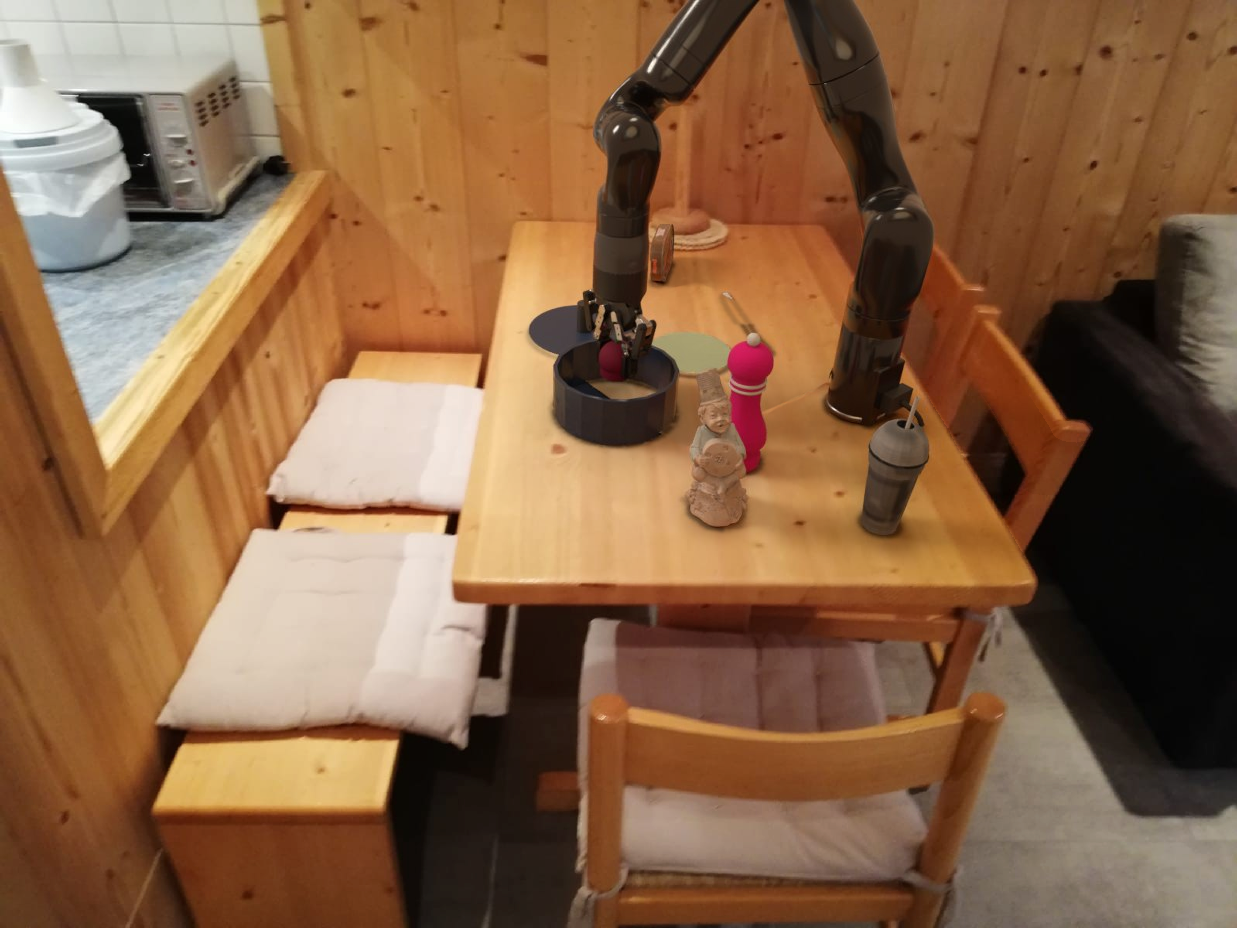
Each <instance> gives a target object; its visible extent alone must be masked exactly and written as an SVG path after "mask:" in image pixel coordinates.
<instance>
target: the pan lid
mask: <svg viewBox="0 0 1237 928" xmlns="http://www.w3.org/2000/svg"><path fill="white" fill-rule="evenodd" d="M596 319H597V318H596V313H595V314H593V321H596ZM631 332H632V329H631V330H629V331H626V332H624V335H626V334H629V333H631ZM528 335H529V338H530V339H531V341H532V342H533V343H534V344H535V345H537V346H538V347H539V348H541V349H543V350H544V351H546V352H549V353H552V354H555V355H557V356H558V355H559V354H561V353H562V352H563V351H565V350H566V349H568V348H569V347H571V346H573V345H576V344H579V343H582V342H585V341H588V340H596V339H595V337H594V332H593V331H588V329H587V327H586V318H585V309H584V301H583V299H579V300H578V301H577V302H576V304H571V305H564V306H558V307H555V308H554V307H553V308H551V309H549V310H546V311H543V312H542V313H540V314H538V315H537V316H535V317H534V318H533V319H532V320H531V322H530V323H529V327H528ZM610 337H611V338H615V330H614V329H613V332H612V334H611V335H610Z"/></svg>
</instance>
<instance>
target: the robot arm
mask: <svg viewBox="0 0 1237 928" xmlns="http://www.w3.org/2000/svg"><path fill="white" fill-rule="evenodd" d="M760 1H761V0H687V1H686V2H685V3H684V4H683V5H682V7H681V8H680V9H679V10H678V11H677V13H676V14H675V15H674V17H673V18H672V19H671V21H670V22H669V23H668V24H667V26H666V27H665V29H664V30H663V31H662V33H661V34H660V36H659V37H658V39H657V40H656V41H655V43H654V44H653V46H652V47H651V49H650V50H649V53H647V55H646V57H645V58H644V60H643V62H642V63H641V64H640V66H639V67H638V68H636V69H635V70H634V71H633V72H632V73H631V74H630V75H629V76H627V77H626V78H625V80H623V82H622V83H621V84H619V85H618V86H617V88H616V89H615V90H614V91H613V92H612V93H611V94H610V95H609V96H608V97H607V98H606V100H605V101H604V102H603V104H602V105H601V107H600V109H599V110H598V112H597V114H596V117H595V118H594V121H593V126H592V127H593V128H592V137H593V140H594V144H595V145H596V147H597V148H598V149H599V151H600V152H601V153H602V154H603V155H604V156H605V157H606V161H607V162H606V177H605V182H604V183H603V184H601V186H600V187H599V189H598V191H597V196H596V209H595V211H596V212H595V214H596V215H595V233H594V240H593V248H592V249H593V252H592V288H590V289H587V290H583V292H582V300H583V301H584V309H585V318H586V327H587V329H588V331H593V332H594V337H595V339H596V355H597V361H598V362H599V353H600V350H601V349H602V347H603V346H604V345H605V344H606V343H608V342H610V341H612V338H611V337H610V335H611V334H612V332H613V329H614V330H615V332H616V337H617V341H618V342H620V343H621V347H622V352H623V356H622V371H621V377H622V378H623V379H625V381H627V380H630V378H633V377H635V375H636V374H637V369H638V367H637V366H638V358H641V357H643V356H646V355H649V353H650V350H651V346H652V342H653V340H654V339H655V334H656V331H657V325H658V324H657V321H656V320H655V319H650V320H648V319H647V318H646V317H645V316H644V313H643V308H642V300H643V299H644V297H645V296H646V294H647V291H648V276H649V263H650V262H649V261H650V233H649V232H650V216H651V215H650V213H651V198H652V195H653V191H654V189H655V186H656V181H657V177H658V173H659V169H660V164H661V159H662V150H663V149H662V148H663V147H662V136H661V132H660V128H659V126H658V125H657V123H656V121H657V120H658V119H659V118H660V117H661V115H662V114H664V112H665V111H667V109H668V108H671V107H680V106H682V105H684V103H686V102H687V101H688V100H689V98H690V97H691V96H692V95H693V94H694V92H695V89H696V88H697V87H698V86H699V85H700V83H701V82H702V80H703V79H704V78H705V76H706V75H707V74H708V72H709V71H710V69H711V68H712V67H713V66H714V64H715V62H716V61H717V59H718V58H719V57H720V55H721V54H722V52H724V49H725V48H726V46H727V45H728V44H729V43H730V41H731V39H732V38H733V37H734V35H735V34H736V33H737V31H738V30H739V29H740V27H741V26H742V24H743V23H744V22H745V20H746V19H747V17H748V16H749V15H750V13H751V12H752V11H753V10H754V9H755V7H756V6H757V5H758V3H759V2H760ZM782 3H783V6H784V9H785V12H786V16H787V20H788V24H789V27H790V28H789V29H790V32H791V34H792V38H793V41H794V44H795V47H796V51H797V54H798V57H799V60H800V63H801V66H802V69H803V73H804V76H805V80H806V82H807V86H808V88H809V91H810V93H811V97H812V100H813V103H814V106H815V108H816V111H817V113H818V115H819V118H820V121H821V123H822V124H823V127H824V129H825V131H826V133H827V135H828V137H829V140H831V142H832V144H833V146H834V148H835V150H836V151H837V153H838V154H839V157H840V158H841V160H842V162H843V164H844V166H845V168H846V171H847V175H848V178H849V181H850V185H851V188H852V193H853V197H854V200H855V201H854V202H855V206H856V211H857V216H858V225H859V231H860V237H861V246H860V250H859V256H858V261H857V266H856V269H855V273H854V274H855V275H854V279H853V281H852V282H851V283H850V285H849V287H848V291H847V297H846V302H845V306H844V312H843V316H842V322H841V326H840V331H839V337H838V341H837V346H836V349H835V350H836V351H835V355H834V360H833V365H832V367H831V370H830V372H829V376H828V379H829V386H828V391H827V394H826V397H825V406H826V409H827V410H828V411H829V412H830V413H831V414H833V415H834V416H835V417H837V418H839V419H842V420H844V421H847V422H851V423H856V424H862V425H863V426H865V427H869V426H871V425H873V424H875V423H877V422H879V421H881V420H883V419H885V418H887V417H889V416H890V415H892V414H893V413H895V412H897V411H900V410H901V409H903V408H904V409H905V410H907V411H908V412H909V413H910V412H911V409H912V406H913V405H911V404H910V403H911V400H912V396H913V392H914V387H911V386H910V385H908V384H906V383H904V382H901V380H902V376H903V372H904V368H905V364H906V359H905V358H902V357H901V356H902V352H903V348H904V343H905V340H906V336H907V332H908V328H909V324H910V320H911V318H912V317H911V316H912V313H913V309H914V305H915V302H916V301H917V299H918V298H919V296H920V295H921V291H922V289H923V286H924V285H923V284H924V281H925V278H926V275H927V272H928V271H927V270H928V267H929V264H930V260H931V256H932V252H933V247H934V243H935V236H936V235H935V232H936V230H935V224H934V222H933V219H932V216H931V214H930V211H929V209H928V206H927V205H926V203H925V201H924V199H923V198H922V196H921V194H920V192H919V189H918V187H917V186H916V183H915V181H914V179H913V177H912V175H911V172H910V169H909V168H908V165H907V162H906V160H905V157H904V154H903V152H902V149H901V144H900V141H899V140H900V139H899V135H898V127H897V119H896V111H895V106H894V99H893V94H892V89H891V86H890V82H889V78H888V74H887V71H886V67H885V64H884V61H883V58H882V57H883V56H882V54H881V51H880V48H879V45H878V42H877V40H876V37H875V35H874V33H873V30H872V28H871V26H870V24H869V22H868V21H867V18H866V17H865V15H864V14H863V12H862V10H861V8H860V7H859V5H858V4H857V2H856V0H782ZM595 313H596V318H597V319H596V321H593V314H595ZM631 329H632V332H631V333H629V334H626V335H624V332H626V331H629V330H631ZM630 340H632V345H633V347H632V348H629V343H628V342H629V341H630ZM913 417H914V418H915V419H916V422H917V424H918V425H919V426H920V427H921V428H923V427H925V422H924V419H923V417H922V415H921V413H920V412H919V411H918V410H917V409H916V410H915V413H914V416H913Z"/></svg>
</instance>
